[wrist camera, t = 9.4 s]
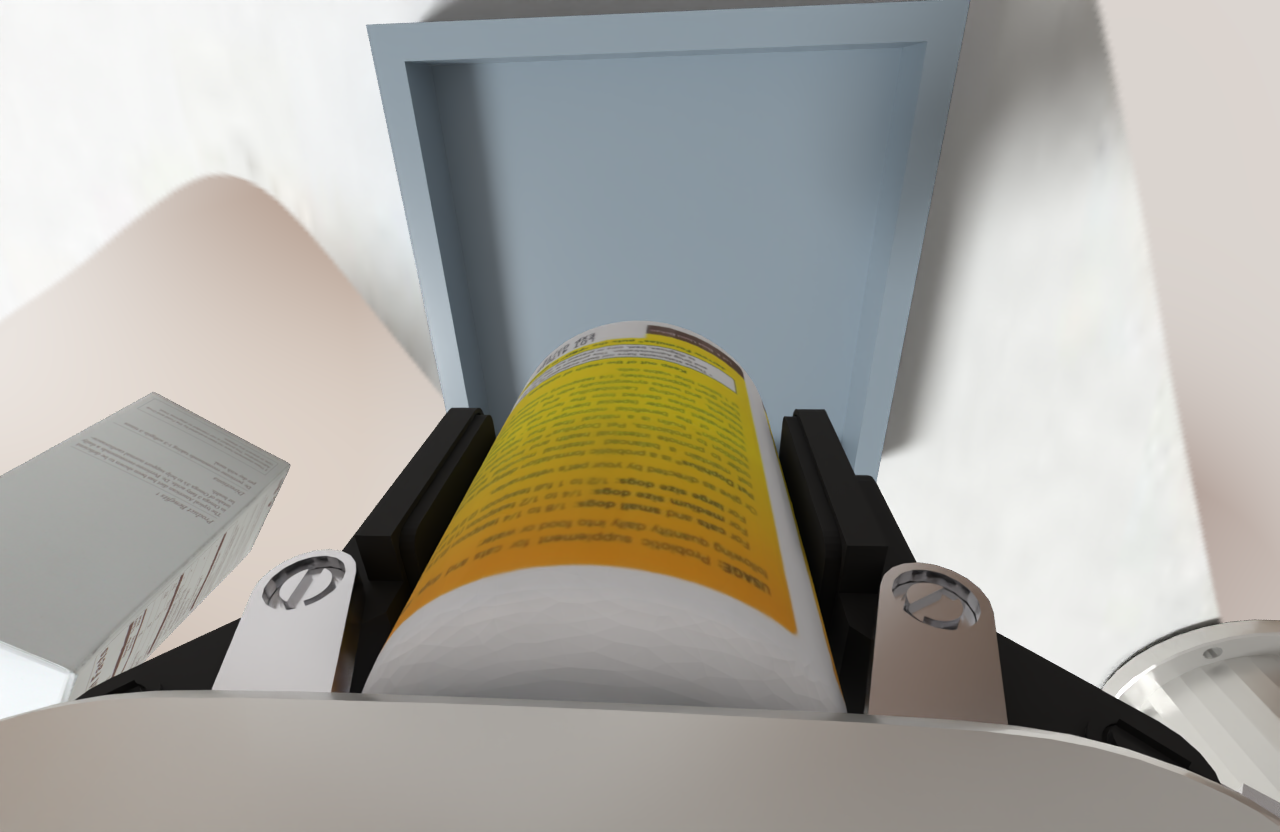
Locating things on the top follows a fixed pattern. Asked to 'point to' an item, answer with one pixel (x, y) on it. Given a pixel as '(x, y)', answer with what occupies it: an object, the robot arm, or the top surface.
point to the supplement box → (119, 544)
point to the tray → (676, 190)
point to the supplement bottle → (623, 545)
